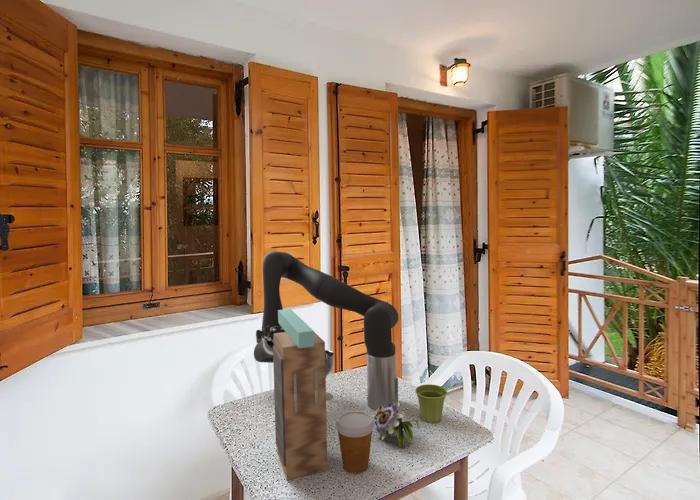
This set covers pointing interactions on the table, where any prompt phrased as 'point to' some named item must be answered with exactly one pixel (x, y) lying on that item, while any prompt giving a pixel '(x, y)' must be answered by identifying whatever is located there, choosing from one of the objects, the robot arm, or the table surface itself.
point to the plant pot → (431, 401)
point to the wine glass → (328, 368)
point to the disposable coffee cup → (355, 440)
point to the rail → (296, 328)
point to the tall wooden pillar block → (300, 406)
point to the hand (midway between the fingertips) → (283, 327)
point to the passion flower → (393, 423)
